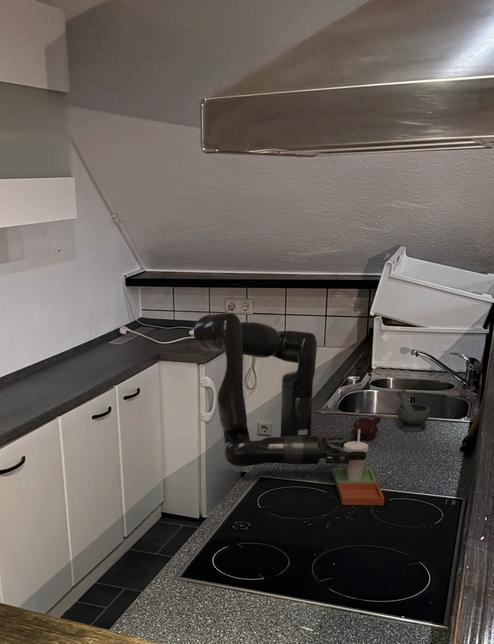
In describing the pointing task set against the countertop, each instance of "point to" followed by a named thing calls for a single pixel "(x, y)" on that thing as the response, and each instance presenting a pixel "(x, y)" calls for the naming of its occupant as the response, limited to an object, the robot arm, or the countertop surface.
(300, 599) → the countertop surface
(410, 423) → the mortar and pestle
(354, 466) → the smoothie
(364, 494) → the terracotta tray
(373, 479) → the green tray
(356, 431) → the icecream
